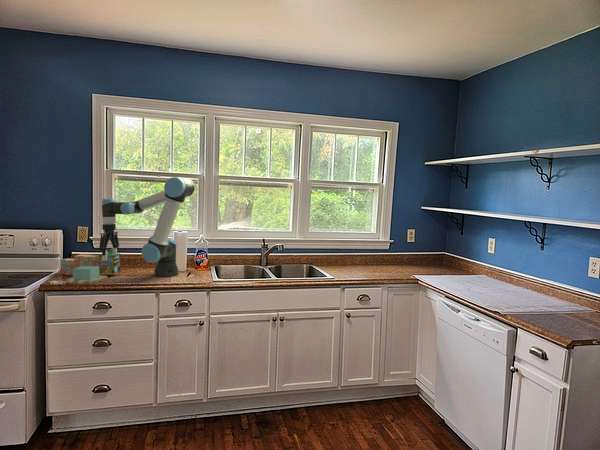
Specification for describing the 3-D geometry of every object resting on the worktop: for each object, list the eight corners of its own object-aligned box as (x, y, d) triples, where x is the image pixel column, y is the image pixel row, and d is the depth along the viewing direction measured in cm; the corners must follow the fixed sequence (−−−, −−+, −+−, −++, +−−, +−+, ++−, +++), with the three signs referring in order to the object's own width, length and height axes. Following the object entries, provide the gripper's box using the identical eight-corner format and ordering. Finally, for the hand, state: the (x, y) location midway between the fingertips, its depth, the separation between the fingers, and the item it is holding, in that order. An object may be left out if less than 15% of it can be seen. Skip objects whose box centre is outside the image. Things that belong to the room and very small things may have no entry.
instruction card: (69, 282, 230) (69, 281, 230) (60, 284, 223) (60, 284, 223) (53, 281, 231) (53, 280, 231) (44, 283, 224) (44, 283, 224)
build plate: (107, 278, 242) (107, 275, 242) (89, 283, 226) (89, 281, 226) (83, 276, 244) (83, 274, 244) (64, 282, 228) (64, 279, 228)
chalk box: (106, 270, 255) (106, 247, 254) (121, 271, 255) (120, 247, 254) (99, 273, 246) (98, 249, 245) (113, 273, 246) (113, 249, 245)
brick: (99, 276, 240) (99, 266, 239) (89, 279, 230) (89, 269, 230) (82, 275, 240) (82, 265, 240) (72, 279, 230) (72, 268, 230)
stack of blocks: (60, 274, 250) (60, 255, 249) (67, 272, 256) (67, 253, 255) (92, 276, 247) (92, 256, 246) (99, 274, 254) (98, 255, 253)
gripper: (114, 222, 259) (114, 256, 261) (91, 224, 238) (92, 262, 239) (124, 222, 258) (125, 257, 260) (103, 224, 237) (104, 262, 238)
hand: (109, 259), depth 250 cm, fingers closed on chalk box, 9 cm apart
